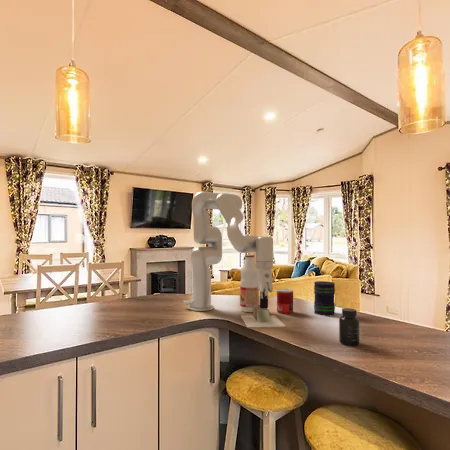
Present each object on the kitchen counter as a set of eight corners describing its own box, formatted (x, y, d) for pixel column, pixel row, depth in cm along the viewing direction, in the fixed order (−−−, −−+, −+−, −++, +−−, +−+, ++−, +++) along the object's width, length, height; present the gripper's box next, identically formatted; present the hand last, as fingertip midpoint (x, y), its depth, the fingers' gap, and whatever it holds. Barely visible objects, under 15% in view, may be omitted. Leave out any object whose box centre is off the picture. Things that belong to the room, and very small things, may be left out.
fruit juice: (254, 313, 155) (255, 255, 156) (236, 311, 160) (237, 255, 160) (261, 309, 164) (261, 254, 165) (244, 307, 168) (244, 254, 169)
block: (257, 310, 138) (253, 305, 149) (257, 322, 138) (252, 315, 149) (269, 310, 139) (263, 304, 150) (268, 322, 139) (263, 315, 150)
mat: (247, 327, 131) (247, 326, 131) (241, 316, 149) (241, 315, 149) (285, 327, 133) (285, 326, 133) (274, 316, 151) (274, 315, 151)
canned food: (293, 314, 154) (293, 291, 154) (276, 313, 156) (276, 290, 156) (293, 310, 161) (293, 289, 162) (277, 310, 163) (277, 288, 163)
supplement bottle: (335, 340, 117) (335, 307, 117) (353, 340, 117) (353, 307, 118) (344, 347, 110) (344, 311, 110) (363, 346, 111) (363, 311, 111)
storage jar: (327, 316, 150) (327, 284, 151) (309, 312, 158) (310, 282, 158) (338, 313, 157) (338, 283, 157) (321, 309, 164) (321, 280, 165)
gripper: (277, 266, 131) (276, 311, 131) (268, 263, 146) (268, 303, 146) (259, 266, 130) (258, 312, 130) (252, 263, 145) (252, 304, 145)
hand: (263, 307), depth 138 cm, fingers closed
